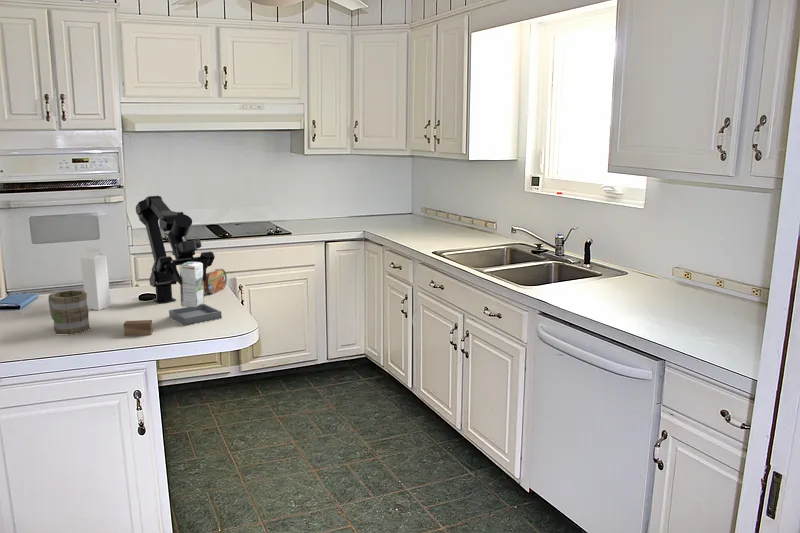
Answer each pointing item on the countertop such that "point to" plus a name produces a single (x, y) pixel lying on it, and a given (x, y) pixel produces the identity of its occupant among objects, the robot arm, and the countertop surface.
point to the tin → (215, 281)
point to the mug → (69, 311)
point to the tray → (194, 314)
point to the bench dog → (138, 327)
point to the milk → (95, 279)
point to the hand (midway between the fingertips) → (193, 282)
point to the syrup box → (192, 284)
